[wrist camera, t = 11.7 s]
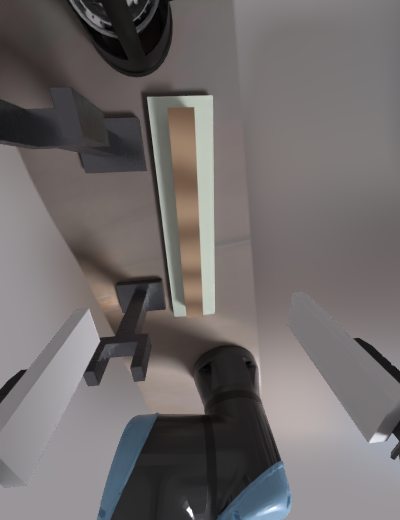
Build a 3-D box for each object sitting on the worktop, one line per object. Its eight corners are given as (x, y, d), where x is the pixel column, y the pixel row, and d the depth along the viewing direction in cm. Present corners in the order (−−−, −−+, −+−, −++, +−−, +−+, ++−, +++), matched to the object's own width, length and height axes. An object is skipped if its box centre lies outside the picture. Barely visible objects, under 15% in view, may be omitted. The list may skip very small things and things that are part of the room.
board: (213, 309, 39) (214, 313, 37) (174, 312, 38) (174, 317, 37) (211, 98, 24) (212, 95, 23) (148, 100, 24) (146, 96, 23)
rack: (165, 305, 37) (153, 389, 23) (124, 308, 37) (85, 396, 22) (139, 120, 25) (75, 43, 10) (76, 121, 24) (-84, 45, 10)
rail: (201, 306, 36) (203, 316, 34) (186, 307, 36) (186, 318, 34) (193, 114, 24) (194, 107, 21) (169, 115, 24) (167, 107, 21)
